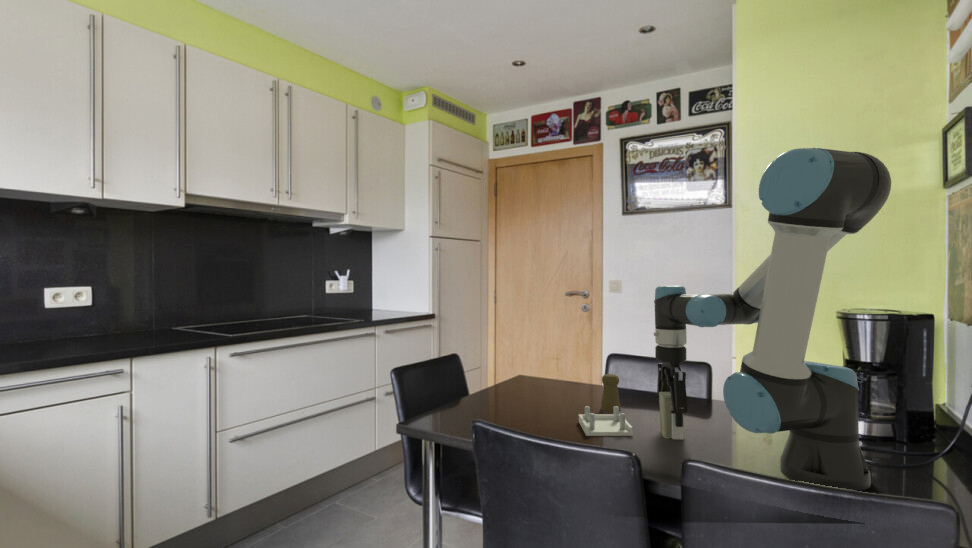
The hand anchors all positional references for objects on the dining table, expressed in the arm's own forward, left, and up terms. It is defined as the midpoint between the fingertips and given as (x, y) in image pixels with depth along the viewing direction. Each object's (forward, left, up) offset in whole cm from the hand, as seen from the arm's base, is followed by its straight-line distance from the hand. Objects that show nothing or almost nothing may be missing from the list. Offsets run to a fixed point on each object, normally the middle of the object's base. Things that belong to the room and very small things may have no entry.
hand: (671, 433), depth 124 cm
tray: (+6, +16, -1) cm, 17 cm away
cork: (+25, +10, -1) cm, 27 cm away
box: (0, 0, -1) cm, 1 cm away
